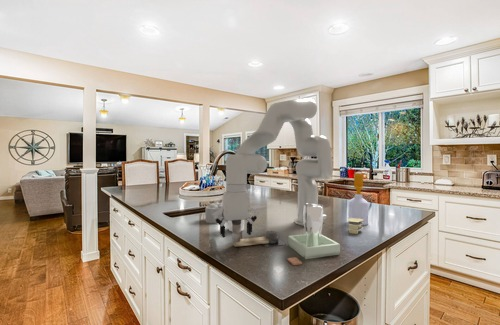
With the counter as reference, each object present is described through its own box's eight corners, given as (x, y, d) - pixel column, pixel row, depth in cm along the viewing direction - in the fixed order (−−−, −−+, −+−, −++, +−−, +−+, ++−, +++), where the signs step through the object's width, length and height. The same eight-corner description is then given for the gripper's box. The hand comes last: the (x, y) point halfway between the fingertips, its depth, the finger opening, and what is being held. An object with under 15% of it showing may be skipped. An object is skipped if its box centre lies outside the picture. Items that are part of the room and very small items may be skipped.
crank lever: (275, 238, 100) (275, 212, 99) (280, 242, 95) (280, 215, 95) (230, 243, 94) (230, 215, 94) (233, 247, 90) (233, 219, 89)
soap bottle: (348, 224, 122) (348, 173, 121) (348, 219, 130) (349, 172, 129) (368, 226, 118) (369, 174, 118) (367, 221, 127) (368, 172, 126)
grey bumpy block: (233, 221, 127) (233, 204, 127) (209, 224, 121) (209, 206, 121) (226, 216, 136) (226, 200, 136) (202, 219, 130) (202, 203, 130)
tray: (318, 241, 98) (318, 232, 98) (339, 254, 85) (339, 244, 85) (287, 245, 94) (287, 235, 94) (305, 259, 81) (305, 248, 81)
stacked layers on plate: (364, 237, 104) (365, 224, 104) (342, 233, 109) (342, 221, 108) (367, 231, 112) (368, 218, 112) (346, 228, 117) (346, 216, 117)
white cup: (242, 232, 108) (242, 209, 108) (225, 231, 110) (225, 208, 110) (246, 227, 116) (246, 206, 116) (230, 226, 118) (230, 205, 117)
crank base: (277, 238, 102) (277, 236, 102) (309, 263, 78) (309, 261, 78) (258, 240, 99) (258, 238, 99) (285, 266, 76) (285, 264, 76)
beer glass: (311, 251, 85) (312, 207, 85) (298, 245, 92) (299, 204, 91) (327, 248, 89) (327, 205, 88) (313, 242, 95) (314, 202, 94)
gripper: (255, 186, 98) (255, 230, 98) (211, 188, 93) (210, 234, 93) (262, 189, 91) (261, 236, 91) (214, 190, 86) (214, 240, 86)
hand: (236, 235), depth 92 cm, fingers open, 9 cm apart
